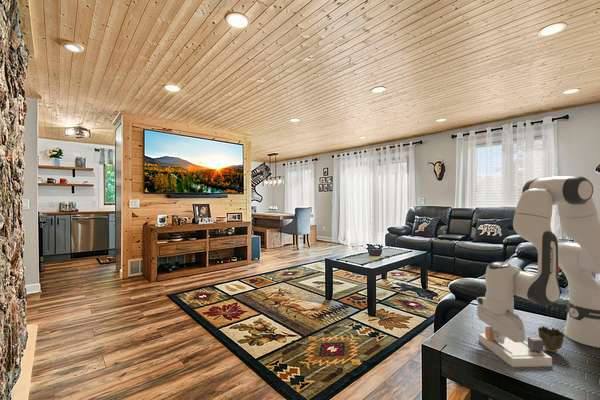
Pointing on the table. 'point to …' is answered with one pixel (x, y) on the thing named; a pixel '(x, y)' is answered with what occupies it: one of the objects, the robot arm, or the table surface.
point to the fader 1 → (489, 333)
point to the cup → (551, 339)
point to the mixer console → (516, 353)
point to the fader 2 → (535, 344)
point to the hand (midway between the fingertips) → (499, 341)
